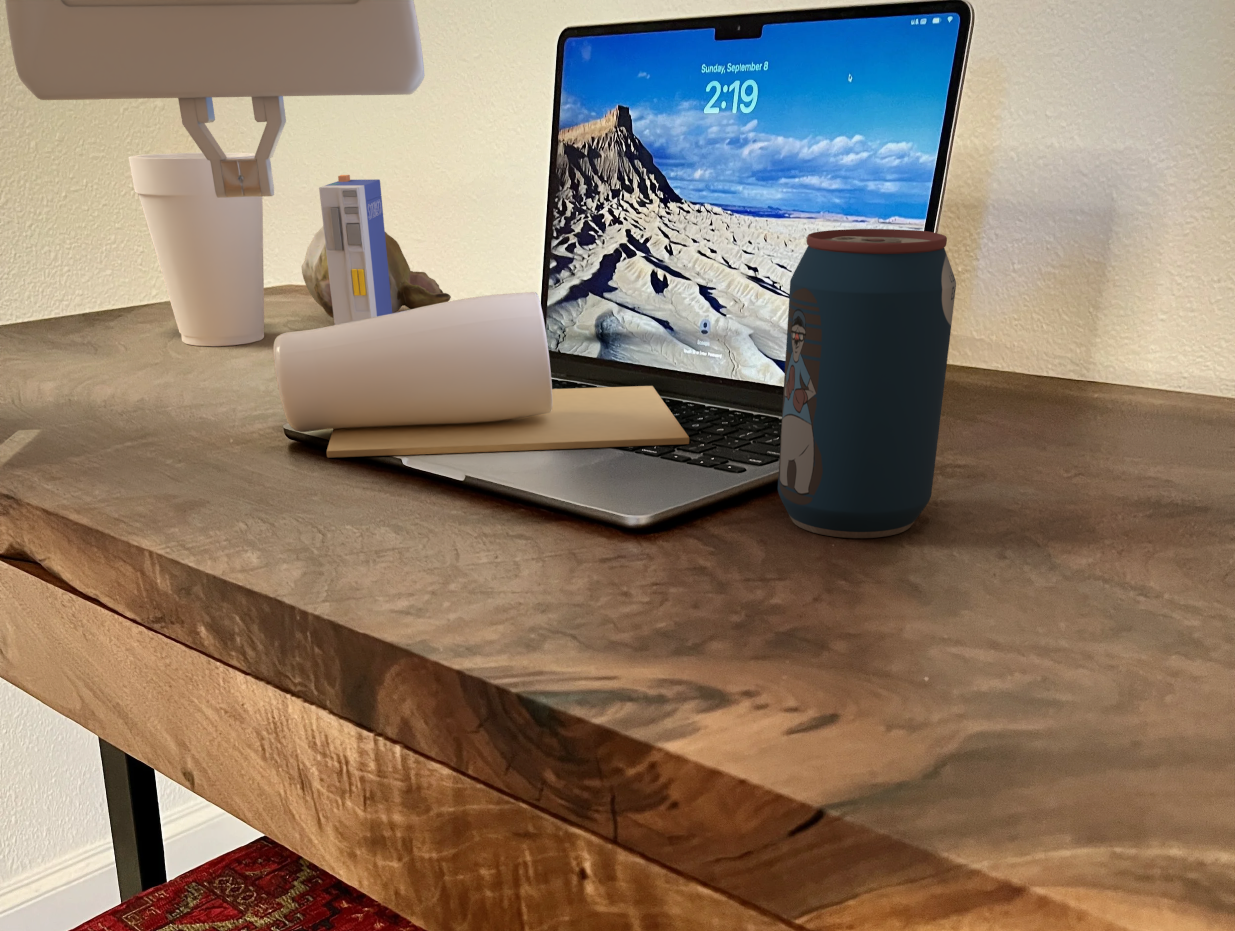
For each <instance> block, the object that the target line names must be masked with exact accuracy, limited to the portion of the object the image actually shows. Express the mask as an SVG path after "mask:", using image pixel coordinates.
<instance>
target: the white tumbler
mask: <svg viewBox="0 0 1235 931" xmlns="http://www.w3.org/2000/svg"><path fill="white" fill-rule="evenodd" d="M544 318H545V317H544V313H543V309H542V304H541V299H540V297H539V295H538V293H537V292H536V291H525V292H524V291H523V292H507V293H496V294H486V295H478V296H472V297H464V298H459V299H454V300H449V301H448V302H443V303H439V304H434V305H429V306H424V307H420V308H415V309H406V310H401V311H397V312H395V313H391V314H387V315H382V316H377V317H372V318H367V319H362V320H358V321H353V322H348V323H343V324H338V325H335V324H334V325H329V326H323V327H318V328H312V329H305V330H297V331H287V332H284V333H280V334H278V335H277V336H276V338H275V339H274V341H273V345H272V346H273V347H272V355H273V365H274V371H275V372H274V373H275V378H276V383H277V384H276V385H277V389H278V393H279V398H280V401H281V406H282V409H283V413H284V415H285V418H286V421H287V423H288V425H289V426H290V428H292V429H293V431H296V432H299V433H309V432H316V431H325V430H333V429H339V428H360V427H385V426H411V425H441V424H468V423H484V422H495V421H504V420H511V419H518V418H524V417H530V416H536V415H541V414H547V413H550V412H551V411H552V405H553V397H552V389H553V382H552V372H551V371H552V370H551V362H550V361H551V360H550V353H549V345H548V337H547V330H546V324H545V319H544Z"/></svg>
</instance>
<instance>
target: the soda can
mask: <svg viewBox="0 0 1235 931" xmlns="http://www.w3.org/2000/svg"><path fill="white" fill-rule="evenodd" d="M947 242H948V237H947V236H946V235H945V234H941V233H937V232H932V231H926V230H919V229H918V230H917V229H897V228H896V229H895V228H894V229H893V228H850V229H847V228H846V229H831V230H829V229H828V230H821V231H814V232H812V233H808V235H807V236H806V245H807V247H806V249H805V251H804V252H803V254H802V257H801V258H800V261H799V262H798V264H797V266H796V268H795V270H794V272H793V273H792V276H791V278H790V281H789V295H788V296H789V297H788V311H787V312H788V313H787V329H786V342H785V343H786V345H785V362H784V377H783V392H782V394H783V395H782V396H783V397H782V412H781V426H780V428H781V430H780V444H779V460H778V461H779V462H778V463H779V464H778V477H777V492H778V495H779V498H780V500H781V503H782V504H783V507H784V508H785V510H786V512H787V515H788V516H789V518H790V520H791V521H792V523H793V524H794V525H796V526H797V527H798V528H800V529H802V530H805V531H807V532H810V533H813V534H817V535H818V534H819V535H821V536H828V537H835V538H842V539H843V538H844V539H845V538H846V539H873V538H874V539H875V538H884V537H890V536H894V535H898V534H901V533H903V532H905V531H907V530H909V529H910V528H911V527H912V526H913V525H914V523H915V521H916V520H917V519H918V518H919V516H920V515H921V514H922V512H923V511H924V509H925V508H926V506H927V505H928V503H929V502H930V500H931V498H932V493H933V484H934V476H935V469H936V468H935V466H936V459H937V451H938V450H937V449H938V443H939V442H938V441H939V434H940V425H941V417H942V408H943V400H944V393H945V392H944V390H945V382H946V376H947V375H946V374H947V368H948V367H947V366H948V357H949V349H950V341H951V331H952V322H953V315H954V307H955V298H956V288H957V281H956V277H955V275H954V272H953V269H952V266H951V265H952V264H951V262H950V260H949V257H948V254H947V251H946V249H945V247H946V246H947Z"/></svg>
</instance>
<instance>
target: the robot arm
mask: <svg viewBox="0 0 1235 931" xmlns="http://www.w3.org/2000/svg"><path fill="white" fill-rule="evenodd" d="M4 3H5V11H6V20H7V26H8V34H9V40H10V45H11V50H12V55H13V61H14V65H15V70H16V73H17V75H18V76H17V77H18V78H19V79H20V81H21V83H22V84H23V85H24V86H25V87H26V88H27V89H28V91H30V92H31V93H32V94H33V96H35V97H36V99H38V100H40V101H91V100H92V101H95V100H130V99H131V100H135V99H136V100H137V99H143V100H144V99H145V100H147V99H178V105H179V112H180V117H181V124H182V126H183V127H184V128H185V130H186V131H187V133H188V134H189V136H190V138H192V140H193V141H194V143H195V144H196V146H197V148H199V150H200V151H201V153H203V154H204V156H205V157H206V159H207V160H210V162H211V168H212V175H213V181H214V187H215V192H216V196H217V198H226V197H262V198H263V197H273V196H275V186H274V178H273V176H274V175H273V171H272V163H271V162H272V161H271V159H272V158H273V157H274V155H275V151H276V149H277V146H278V144H279V141H280V138H281V135H282V133H283V130H284V128H285V126H286V123H287V118H286V109H285V100H284V97H322V96H323V97H326V96H333V97H334V96H401V95H403V96H404V95H405V96H406V95H413V94H414V93H415V92H416V91H417V90H418V89H419V87H420V86H421V84H422V83H423V81H424V79H425V65H424V56H423V47H422V39H421V34H420V28H419V21H418V16H417V11H416V5H415V1H414V0H4ZM213 98H251V103H252V104H251V105H252V110H253V117H254V121H255V122H256V123H266V124H265V126H264V130H263V132H262V135H261V138H260V141H259V143H258V146H257V148H256V152H255V153H256V154H255V157H254V158H247V159H226V158H227V157H226V155H225V154H224V152H225V151H223V148H222V147H221V146H220V144H219V143H218V142H217V140H216V138H215V137H214V135H213V134H212V132H211V131H210V129H209V128H208V126H207V125H206V124H211V123H214V122H215V120H216V116H215V108H214V103H213Z"/></svg>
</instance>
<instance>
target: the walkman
mask: <svg viewBox="0 0 1235 931" xmlns="http://www.w3.org/2000/svg"><path fill="white" fill-rule="evenodd" d="M337 179H338V180H337V181H335V182H331V183H328V184H325V185H322V186H319V187H318V191H319V200H320V208H321V215H322V218H321V219H322V227H324V236H325V245H326V254H327V263H328V271H329V280H330V289H331V298H332V306H333V315H334V318H333V322H334V325H338V324H343V323H348V322H353V321H358V320H362V319H367V318H372V317H377V316H382V315H387V314H391V313H392V306H391V295H390V284H389V273H388V262H387V251H386V240H385V232H386V230H385V219H384V209H383V208H384V207H383V198H382V188H381V187H382V186H381V179H378V178H377V179H375V178H374V179H351V175H350V174H340V175H337Z"/></svg>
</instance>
